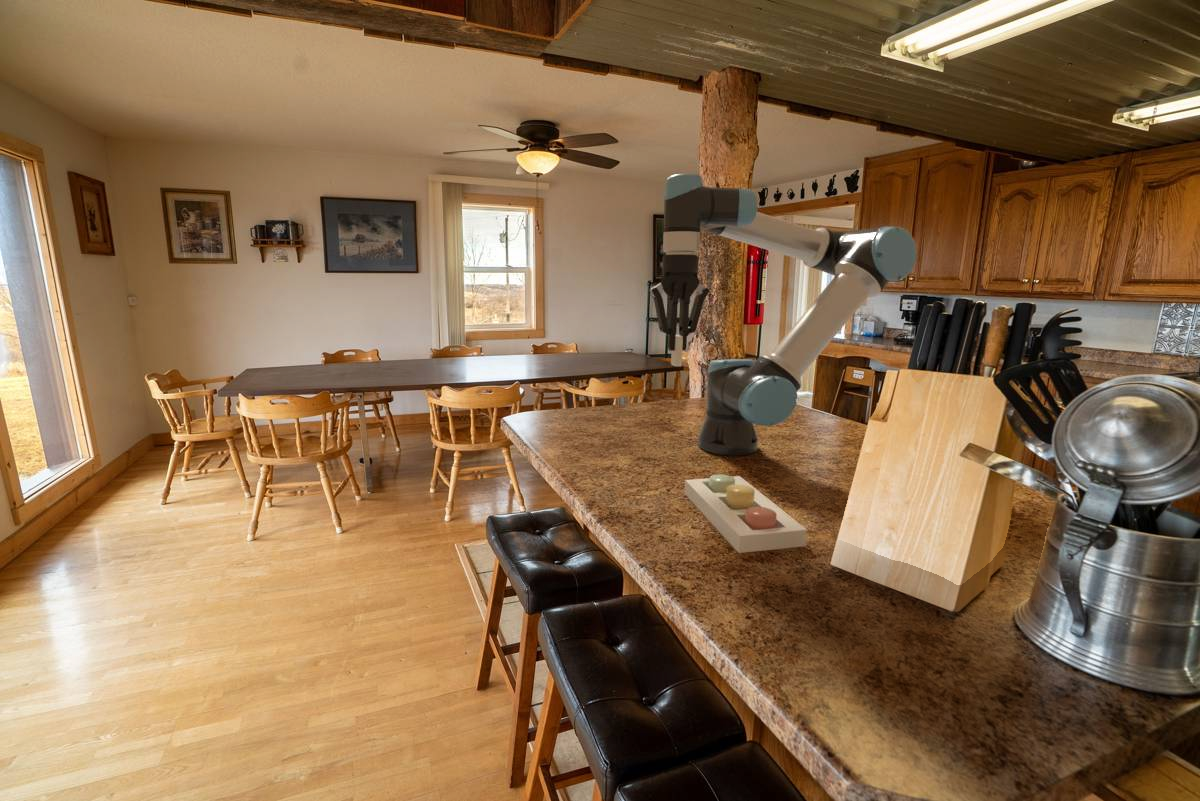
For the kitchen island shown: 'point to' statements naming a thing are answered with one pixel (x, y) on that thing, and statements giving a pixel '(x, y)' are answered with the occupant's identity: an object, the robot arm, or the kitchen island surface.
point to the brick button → (760, 518)
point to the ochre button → (739, 497)
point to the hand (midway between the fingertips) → (676, 365)
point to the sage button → (720, 483)
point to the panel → (733, 520)
